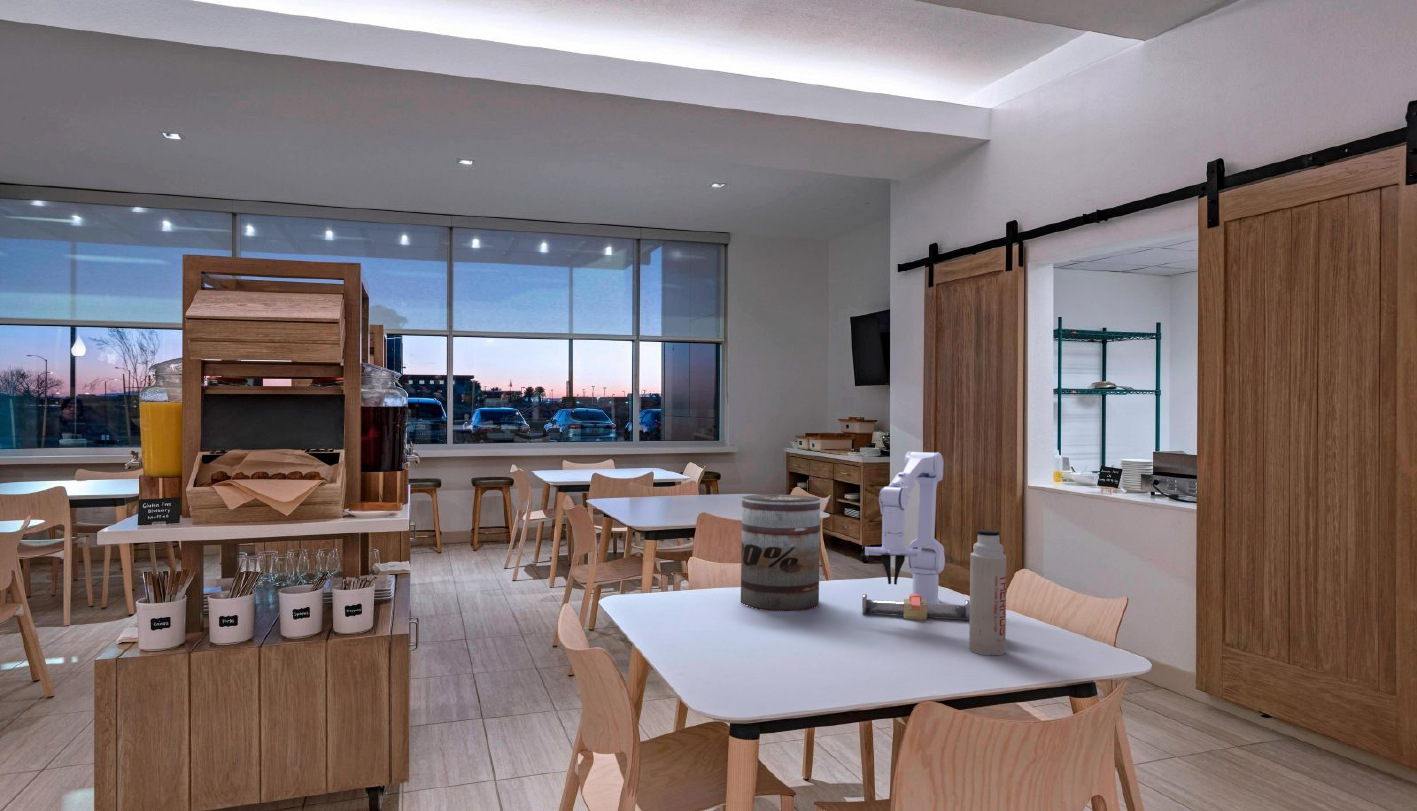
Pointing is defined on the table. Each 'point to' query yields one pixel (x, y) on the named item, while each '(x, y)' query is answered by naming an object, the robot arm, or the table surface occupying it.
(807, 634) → the table surface
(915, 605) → the lever
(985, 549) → the thermos bottle
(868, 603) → the pipe and valve
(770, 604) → the barrel
